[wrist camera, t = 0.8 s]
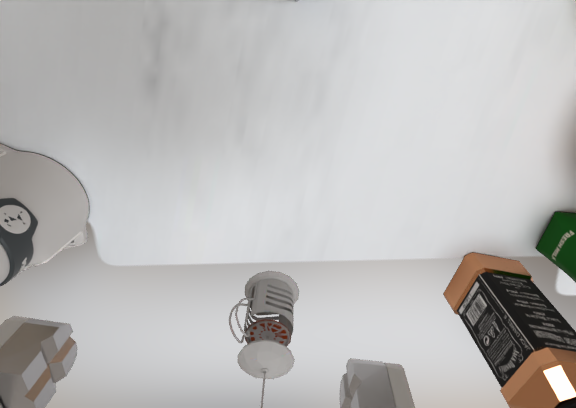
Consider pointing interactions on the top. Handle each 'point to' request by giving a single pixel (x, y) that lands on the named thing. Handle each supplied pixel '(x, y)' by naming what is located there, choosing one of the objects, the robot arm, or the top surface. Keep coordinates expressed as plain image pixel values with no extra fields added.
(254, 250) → the top surface
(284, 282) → the french press
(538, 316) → the whiskey bottle
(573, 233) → the milk carton
